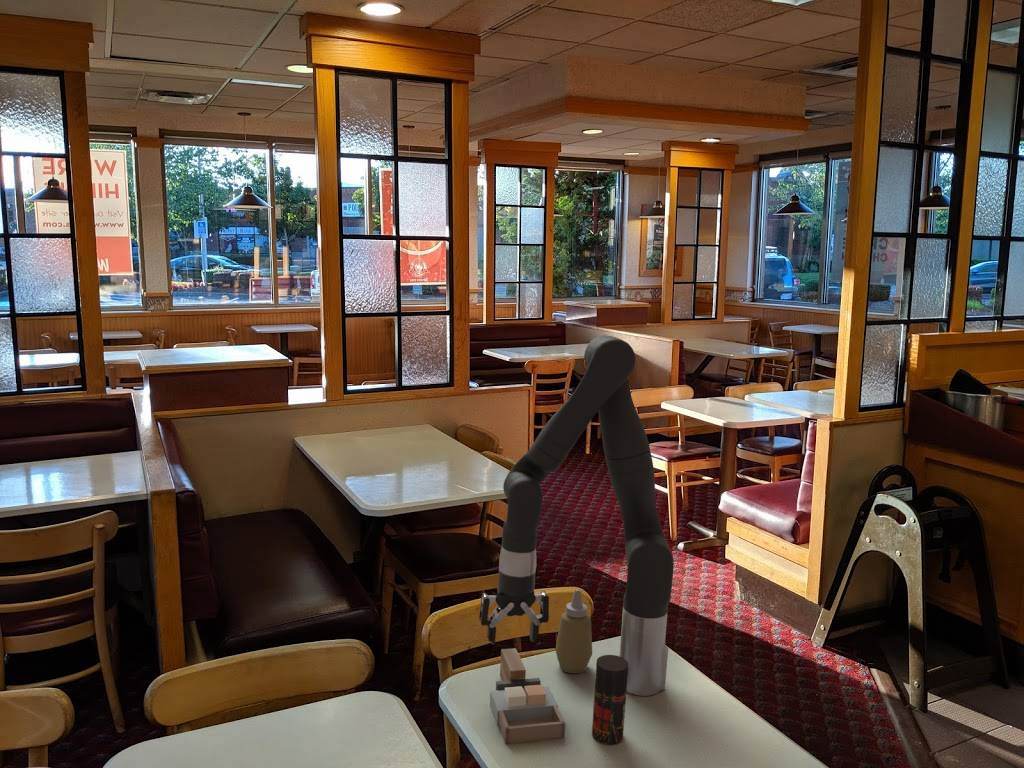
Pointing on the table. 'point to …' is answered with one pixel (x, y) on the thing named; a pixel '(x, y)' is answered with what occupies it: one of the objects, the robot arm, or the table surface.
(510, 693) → the tile
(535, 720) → the box
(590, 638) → the squeeze bottle
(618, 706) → the deodorant
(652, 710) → the table surface
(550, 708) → the grey flat-topped cover
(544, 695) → the tile
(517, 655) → the scraper
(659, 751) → the table surface
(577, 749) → the table surface
